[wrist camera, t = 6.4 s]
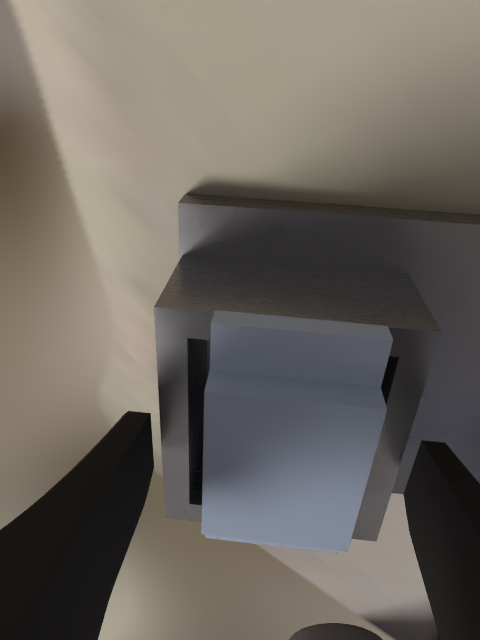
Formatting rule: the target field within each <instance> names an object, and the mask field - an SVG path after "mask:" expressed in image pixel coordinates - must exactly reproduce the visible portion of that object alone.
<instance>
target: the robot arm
mask: <svg viewBox="0 0 480 640" xmlns="http://www.w3.org/2000/svg"><path fill="white" fill-rule="evenodd" d="M153 469H154V459H153V444H152V429H151V414H150V413H142V412H132V411H128V412H127V413H125V414H124V415H123V416H122V417H121V419H120V420H119V421H118V422H117V423H116V424H115V425H114V426H113V428H112V429H111V430H110V431H109V432H108V433H107V434H106V435H105V436H104V437H103V438H102V439H101V440H100V442H99V443H98V444H97V445H96V446H95V447H94V448H93V449H92V450H91V451H90V452H89V453H88V454H87V455H86V456H85V457H84V458H83V459H82V460H81V461H80V462H79V463H78V464H77V465H76V466H75V467H74V468H73V469H72V470H71V471H70V472H69V473H68V474H67V475H66V476H65V477H63V478H62V479H61V480H60V481H59V482H58V483H57V484H56V485H55V486H53V487H52V488H51V489H50V490H49V491H48V492H47V493H46V494H45V495H44V496H42V497H41V498H40V499H39V500H38V501H37V502H35V503H34V504H33V505H32V506H30V507H29V508H28V509H27V510H25V511H24V512H23V513H22V514H20V515H19V516H18V517H17V518H15V519H14V520H13V521H12V522H10V523H9V524H8V525H6V526H5V527H3V528H2V529H1V530H0V640H98V636H99V633H100V630H101V626H102V622H103V619H104V615H105V612H106V608H107V604H108V601H109V598H110V595H111V592H112V590H113V586H114V584H115V581H116V578H117V576H118V573H119V570H120V568H121V565H122V563H123V560H124V557H125V554H126V552H127V549H128V547H129V544H130V542H131V539H132V536H133V534H134V531H135V528H136V526H137V523H138V520H139V517H140V515H141V512H142V510H143V507H144V504H145V501H146V497H147V493H148V489H149V485H150V481H151V477H152V473H153ZM404 499H405V506H406V513H407V519H408V525H409V531H410V535H411V539H412V543H413V546H414V550H415V553H416V557H417V560H418V564H419V567H420V571H421V574H422V578H423V581H424V585H425V588H426V592H427V595H428V599H429V602H430V606H431V609H432V612H433V616H434V619H435V623H436V627H437V631H438V635H439V639H440V640H480V483H479V482H478V481H477V480H476V479H475V478H474V476H473V475H472V474H471V473H470V472H469V470H468V469H467V468H466V467H465V466H464V464H463V463H462V462H461V461H460V460H459V458H458V457H457V456H456V455H455V454H454V452H453V451H452V450H451V449H450V448H449V446H448V445H447V444H446V443H444V442H434V441H424V440H421V443H420V446H419V449H418V452H417V455H416V458H415V461H414V464H413V467H412V470H411V473H410V476H409V479H408V482H407V485H406V488H405V491H404Z"/></svg>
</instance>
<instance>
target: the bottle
mask: <svg viewBox="0 0 480 640" xmlns="http://www.w3.org/2000/svg"><path fill="white" fill-rule="evenodd" d="M289 640H382V639H381V638H380V637H379V636H378V635H376V634H375V633H373V632H371V631H369V630H367V629H364V628H361V627H358V626H354V625H348V624H341V623H326V624H318V625H313V626H309V627H306V628H303V629H301V630H300V631H298V632H296V633H295V634H294V635H293V636H292V637H291V638H290V639H289Z"/></svg>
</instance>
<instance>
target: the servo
mask: <svg viewBox="0 0 480 640" xmlns="http://www.w3.org/2000/svg"><path fill="white" fill-rule="evenodd" d="M392 343H393V338H392V335H391V333H390V330H389V327H388V326H382V325H371V324H360V323H349V322H338V321H328V320H317V319H306V318H295V317H284V316H274V315H263V314H252V313H241V312H230V311H219V310H215V311H214V314H213V318H212V321H211V340H210V371H209V375H208V379H207V383H206V387H205V391H204V433H203V484H202V534H203V535H206V536H205V537H206V538H212V539H221V540H229V541H237V542H246V543H254V544H262V545H271V546H279V547H287V548H296V549H304V550H312V551H321V552H329V553H337V552H338V551H345V552H348V548H349V545H350V541H351V538H352V534H353V531H354V527H355V523H356V520H357V516H358V513H359V509H360V506H361V502H362V499H363V495H364V491H365V488H366V484H367V481H368V477H369V474H370V470H371V466H372V463H373V459H374V456H375V452H376V449H377V445H378V441H379V438H380V434H381V431H382V427H383V424H384V420H385V416H386V413H387V408H386V404H385V400H384V397H383V393H382V390H381V385H382V381H383V377H384V373H385V369H386V365H387V362H388V358H389V354H390V350H391V346H392Z"/></svg>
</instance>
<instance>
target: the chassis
mask: <svg viewBox="0 0 480 640" xmlns="http://www.w3.org/2000/svg"><path fill="white" fill-rule="evenodd" d="M178 216H179V262H178V264H177V266H176V268H175V270H174V272H173V273H172V275H171V277H170V279H169V281H168V283H167V284H166V286H165V288H164V290H163V292H162V294H161V295H160V297H159V299H158V301H157V303H156V305H155V306H154V314H155V333H156V352H157V370H158V389H159V408H160V427H161V445H162V464H163V483H164V502H165V517H166V518H173V519H183V520H191V521H200V522H202V484H203V433H204V391H205V387H206V383H207V379H208V375H209V371H210V340H211V321H212V318H213V314H214V311H215V310H219V311H230V312H241V313H252V314H263V315H274V316H284V317H295V318H306V319H317V320H328V321H338V322H349V323H360V324H371V325H382V326H388V327H389V330H390V333H391V335H392V338H393V343H392V346H391V350H390V354H389V358H388V362H387V365H386V369H385V373H384V377H383V381H382V385H381V390H382V393H383V397H384V400H385V404H386V408H387V413H386V416H385V420H384V424H383V427H382V431H381V434H380V438H379V441H378V445H377V449H376V452H375V456H374V459H373V463H372V466H371V470H370V474H369V477H368V481H367V484H366V488H365V491H364V495H363V499H362V502H361V506H360V509H359V513H358V516H357V520H356V523H355V527H354V531H353V534H352V538H351V539H360V540H368V541H377V537H378V534H379V531H380V528H381V525H382V521H383V518H384V515H385V512H386V509H387V505H388V502H389V499H390V496H391V493H399V494H404V491H405V488H406V485H407V482H408V479H409V476H410V473H411V470H412V467H413V464H414V461H415V458H416V455H417V452H418V449H419V446H420V443H421V440H424V441H434V442H444V443H446V444H447V445H448V446H449V448H450V449H451V450H452V451H453V452H454V454H455V455H456V456H457V457H458V458H459V460H460V461H461V462H462V463H463V464H464V466H465V467H466V468H467V469H468V470H469V472H470V473H471V474H472V475H473V476H474V478H475V479H476V480H477V481H478V482H479V483H480V215H470V214H456V213H442V212H428V211H414V210H400V209H386V208H372V207H358V206H344V205H330V204H316V203H302V202H288V201H274V200H260V199H246V198H232V197H218V196H204V195H190V194H185V195H184V196H183V197H182V199H181V200H180V201H179V202H178Z"/></svg>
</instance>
